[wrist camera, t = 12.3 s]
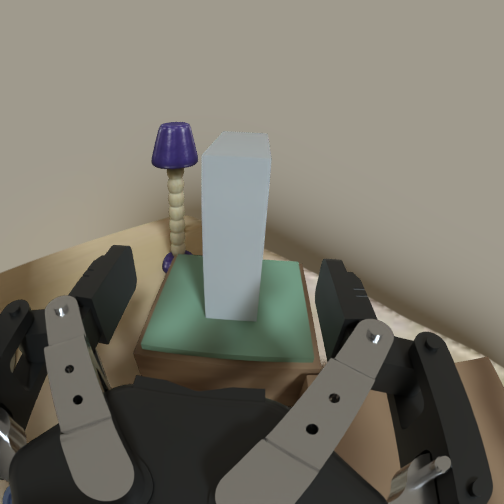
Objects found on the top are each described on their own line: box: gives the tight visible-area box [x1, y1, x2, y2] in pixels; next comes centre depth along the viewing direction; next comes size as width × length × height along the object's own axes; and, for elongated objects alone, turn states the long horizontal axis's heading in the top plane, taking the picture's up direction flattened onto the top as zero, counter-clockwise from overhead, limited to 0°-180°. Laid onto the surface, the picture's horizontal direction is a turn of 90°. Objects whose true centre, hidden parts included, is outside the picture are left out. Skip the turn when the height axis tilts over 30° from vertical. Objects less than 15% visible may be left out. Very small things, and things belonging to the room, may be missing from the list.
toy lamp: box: [152, 122, 198, 273], centre depth 30 cm, size 5×5×17 cm
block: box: [202, 131, 271, 322], centre depth 21 cm, size 4×9×11 cm, turn 178°
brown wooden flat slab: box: [297, 357, 504, 504], centre depth 12 cm, size 16×13×5 cm
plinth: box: [133, 254, 321, 406], centre depth 23 cm, size 12×12×6 cm
